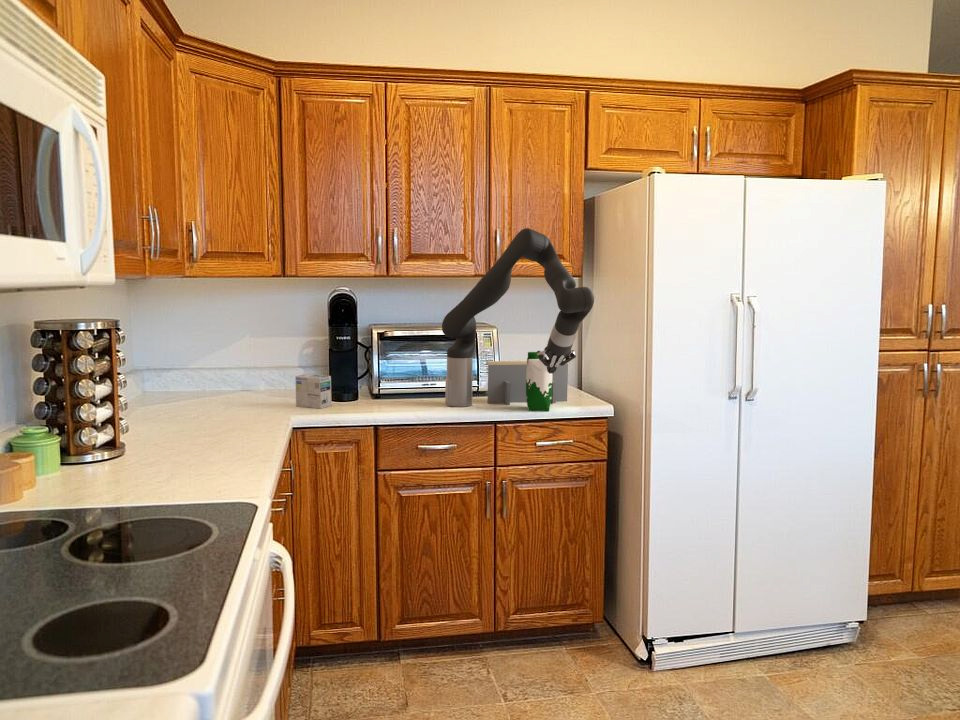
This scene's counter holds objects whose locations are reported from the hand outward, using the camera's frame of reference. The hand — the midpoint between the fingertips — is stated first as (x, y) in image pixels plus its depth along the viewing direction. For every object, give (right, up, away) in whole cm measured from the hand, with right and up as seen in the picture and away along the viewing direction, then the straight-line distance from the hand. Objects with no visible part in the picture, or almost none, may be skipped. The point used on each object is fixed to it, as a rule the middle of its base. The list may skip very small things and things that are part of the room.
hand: (550, 371), depth 236 cm
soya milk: (-2, -14, +19) cm, 23 cm away
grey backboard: (-5, -12, +31) cm, 33 cm away
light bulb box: (-81, -13, +19) cm, 84 cm away
